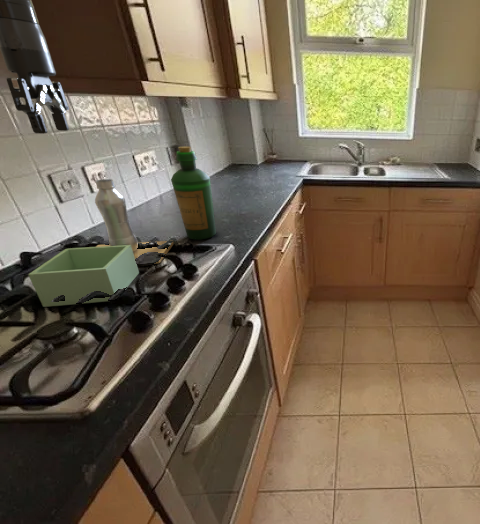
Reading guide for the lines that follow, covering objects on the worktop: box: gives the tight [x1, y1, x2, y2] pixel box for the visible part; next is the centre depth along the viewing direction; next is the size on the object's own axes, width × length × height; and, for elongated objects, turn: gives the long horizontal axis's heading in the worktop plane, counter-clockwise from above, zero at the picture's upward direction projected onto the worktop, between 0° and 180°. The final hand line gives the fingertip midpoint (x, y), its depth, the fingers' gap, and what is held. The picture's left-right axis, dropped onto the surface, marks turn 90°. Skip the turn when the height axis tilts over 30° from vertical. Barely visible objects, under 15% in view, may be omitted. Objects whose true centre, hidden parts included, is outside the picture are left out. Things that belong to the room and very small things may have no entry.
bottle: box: [170, 146, 217, 241], centre depth 103 cm, size 11×11×28 cm
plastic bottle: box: [94, 178, 139, 251], centre depth 89 cm, size 6×7×20 cm
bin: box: [27, 245, 140, 308], centre depth 76 cm, size 14×14×8 cm
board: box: [95, 240, 174, 265], centre depth 94 cm, size 20×14×1 cm
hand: (52, 131), depth 75 cm, fingers open, 8 cm apart
